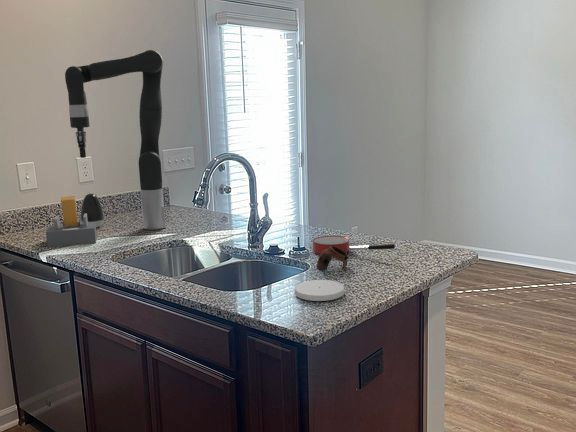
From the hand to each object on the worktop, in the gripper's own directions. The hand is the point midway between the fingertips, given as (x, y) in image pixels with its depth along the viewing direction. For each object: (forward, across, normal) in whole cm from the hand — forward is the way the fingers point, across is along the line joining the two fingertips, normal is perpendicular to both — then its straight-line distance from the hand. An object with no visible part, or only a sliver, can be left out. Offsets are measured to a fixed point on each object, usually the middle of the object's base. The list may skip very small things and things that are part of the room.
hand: (83, 157), depth 256 cm
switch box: (+32, -16, +6) cm, 36 cm away
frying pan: (+32, -76, -92) cm, 124 cm away
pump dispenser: (+32, +9, -1) cm, 33 cm away
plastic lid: (+32, -113, -67) cm, 135 cm away
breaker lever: (+26, -15, +6) cm, 31 cm away
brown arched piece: (+32, -90, -78) cm, 123 cm away
